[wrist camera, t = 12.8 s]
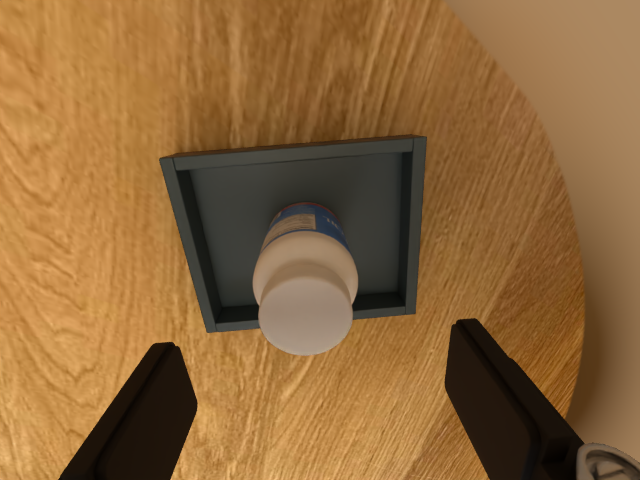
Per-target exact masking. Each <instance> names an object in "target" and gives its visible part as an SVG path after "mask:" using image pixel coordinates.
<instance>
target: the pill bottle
mask: <svg viewBox="0 0 640 480" xmlns="http://www.w3.org/2000/svg"><path fill="white" fill-rule="evenodd" d="M357 289H358V274H357V270H356V266H355V263H354V260H353V257H352V254H351V252H350V249H349V246H348V243H347V240H346V238H345V235H344V232H343V229H342V226H341V224H340V222H339V220H338V219H337V217H336V216H335V215H334V214H333V213H332V212H331V211H330V210H328V209H327V208H325V207H323V206H321V205H319V204H315V203H309V202H302V203H296V204H292V205H290V206H288V207H286V208H284V209H283V210H281V211H280V212H279V213H278V214H277V215H276V216H275V218H274V219H273V221H272V222H271V224H270V226H269V229H268V231H267V234H266V237H265V240H264V243H263V245H262V248H261V251H260V254H259V257H258V260H257V263H256V267H255V270H254V275H253V291H254V295H255V298H256V301H257V303H258V305H259V313H258V319H259V325H260V328H261V331H262V333H263V334H264V336H265V337H266V339H267V340H268V341H269V342H270V343H271V344H272V345H274V346H275V347H277V348H278V349H280V350H282V351H284V352H287V353H290V354H295V355H315V354H320V353H323V352H326V351H328V350H330V349H332V348H333V347H335V346H336V345H338V344H339V343H340V342H341V341H342V340H343V339H344V338H345V336H346V335H347V334H348V332H349V330H350V327H351V325H352V320H353V310H352V304H353V302H354V299H355V297H356V293H357Z"/></svg>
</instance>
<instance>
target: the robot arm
mask: <svg viewBox="0 0 640 480" xmlns="http://www.w3.org/2000/svg"><path fill="white" fill-rule="evenodd" d="M445 388H446V392H447V394H448V396H449V398H450V400H451V402H452V404H453V406H454V408H455V410H456V412H457V414H458V416H459V418H460V420H461V422H462V424H463V426H464V428H465V430H466V433H467V435H468V437H469V439H470V441H471V443H472V445H473V447H474V449H475V451H476V453H477V455H478V457H479V459H480V461H481V463H482V465H483V467H484V469H485V471H486V473H487V475H488V477H489V479H490V480H640V463H639V462H638V461H636V460H635V459H633V458H632V457H631V456H629V455H627V454H625V453H624V452H622V451H620V450H618V449H616V448H613V447H610V446H607V445H605V444H599V443H588V444H584V442H583V441H582V440H581V439H580V438H579V436H578V435H577V434H576V433H575V432H574V430H573V429H572V428H571V427H570V426H569V424H568V423H567V422H566V421H565V420H564V419H563V417H562V416H561V415H560V414H559V413H558V411H557V410H556V409H555V408H554V407H553V405H552V404H551V403H550V402H549V401H548V400H547V398H546V397H545V396H544V395H543V394H542V392H541V391H540V390H539V389H538V388H537V386H536V385H535V384H534V383H533V382H532V380H531V379H530V378H529V377H528V376H527V375H526V373H525V372H524V371H523V370H522V369H521V367H520V366H519V365H518V364H517V363H516V362H515V361H514V360H513V359H511V358H509V357H508V356H507V355H506V353H505V352H504V351H503V350H502V349H501V347H500V346H499V345H498V344H497V342H496V341H495V340H494V339H493V338H492V336H491V335H490V334H489V333H488V332H487V330H486V329H485V328H484V327H483V326H482V324H481V323H480V322H479V321H478V320H477V319H475V318H473V319H460V320H457V321H456V324H453V325H452V327H451V334H450V342H449V350H448V358H447V367H446V375H445ZM196 412H197V399H196V396H195V393H194V390H193V387H192V384H191V381H190V378H189V375H188V372H187V369H186V365H185V362H184V359H183V356H182V353H181V350H180V348H179V347H178V346H175V344H174V343H173V342H165V343H155V344H153V345H152V346H151V347H150V348H149V350H148V351H147V353H146V354H145V356H144V357H143V358H142V360H141V361H140V363H139V364H138V366H137V367H136V368H135V370H134V371H133V373H132V374H131V376H130V377H129V378H128V380H127V381H126V383H125V384H124V386H123V387H122V388H121V390H120V391H119V393H118V394H117V396H116V397H115V398H114V400H113V401H112V403H111V404H110V406H109V407H108V408H107V410H106V411H105V413H104V414H103V416H102V417H101V418H100V420H99V421H98V423H97V424H96V426H95V427H94V428H93V430H92V431H91V433H90V434H89V436H88V437H87V438H86V440H85V441H84V443H83V444H82V446H81V447H80V448H79V450H78V451H77V453H76V454H75V456H74V457H73V458H72V460H71V461H70V463H69V464H68V466H67V467H66V468H65V470H64V471H63V473H62V474H61V475H60V478H59V479H58V480H170V479H171V476H172V474H173V471H174V469H175V466H176V463H177V461H178V458H179V456H180V453H181V451H182V448H183V445H184V443H185V440H186V438H187V435H188V433H189V430H190V428H191V425H192V422H193V420H194V417H195V415H196Z"/></svg>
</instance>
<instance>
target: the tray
mask: <svg viewBox="0 0 640 480" xmlns="http://www.w3.org/2000/svg"><path fill="white" fill-rule="evenodd" d="M426 141H427V137H426V136H419V135H412V134H410V135H398V136H386V137H373V138H361V139H348V140H336V141H324V142H311V143H299V144H286V145H274V146H262V147H249V148H237V149H224V150H212V151H200V152H187V153H176V154H173V155H169V156H166V157H162V158H159V161H160V165H161V168H162V172H163V176H164V179H165V183H166V186H167V190H168V194H169V197H170V201H171V204H172V208H173V212H174V215H175V219H176V223H177V226H178V230H179V233H180V237H181V241H182V244H183V248H184V251H185V255H186V259H187V262H188V266H189V270H190V273H191V277H192V280H193V284H194V288H195V291H196V295H197V299H198V302H199V306H200V309H201V313H202V317H203V320H204V324H205V327H206V331H207V333H212V332H217V331H218V332H226V331H236V330H247V329H258V328H260V325H259V319H258V313H259V305H258V303H257V301H256V298H255V295H254V291H253V275H254V270H255V267H256V263H257V260H258V257H259V254H260V251H261V248H262V245H263V243H264V240H265V237H266V234H267V231H268V229H269V226H270V224H271V222H272V221H273V219H274V218H275V216H276V215H277V214H278V213H279V212H280V211H281V210H283V209H284V208H286V207H288V206H290V205H292V204H296V203H302V202H309V203H315V204H319V205H321V206H323V207H325V208H327V209H328V210H330V211H331V212H332V213H333V214H334V215H335V216H336V217H337V219H338V220H339V222H340V224H341V226H342V229H343V232H344V235H345V238H346V240H347V243H348V246H349V249H350V252H351V254H352V257H353V260H354V263H355V266H356V270H357V274H358V289H357V293H356V297H355V299H354V302H353V304H352V310H353V320H356V319H366V318H377V317H388V316H399V315H410V314H416V298H417V283H418V267H419V251H420V235H421V220H422V204H423V188H424V172H425V157H426Z"/></svg>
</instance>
